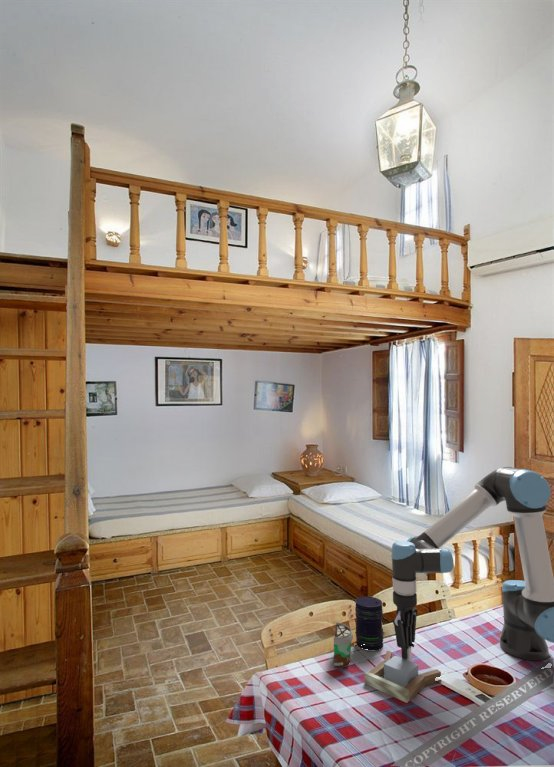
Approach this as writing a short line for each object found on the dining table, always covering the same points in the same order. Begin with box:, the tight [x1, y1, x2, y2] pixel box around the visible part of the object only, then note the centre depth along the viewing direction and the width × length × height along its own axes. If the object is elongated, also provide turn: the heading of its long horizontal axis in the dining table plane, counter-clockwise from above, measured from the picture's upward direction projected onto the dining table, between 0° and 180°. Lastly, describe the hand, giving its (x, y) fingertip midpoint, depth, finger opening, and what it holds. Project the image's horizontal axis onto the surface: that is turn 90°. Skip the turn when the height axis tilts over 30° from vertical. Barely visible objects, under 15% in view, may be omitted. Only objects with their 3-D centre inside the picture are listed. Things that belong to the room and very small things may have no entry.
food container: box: [333, 622, 354, 669], centre depth 147 cm, size 12×6×10 cm, turn 168°
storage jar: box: [354, 596, 384, 651], centre depth 159 cm, size 10×10×15 cm
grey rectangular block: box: [383, 655, 419, 687], centre depth 136 cm, size 8×7×4 cm
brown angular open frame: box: [363, 650, 442, 704], centre depth 136 cm, size 19×18×3 cm
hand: (406, 668), depth 140 cm, fingers closed
